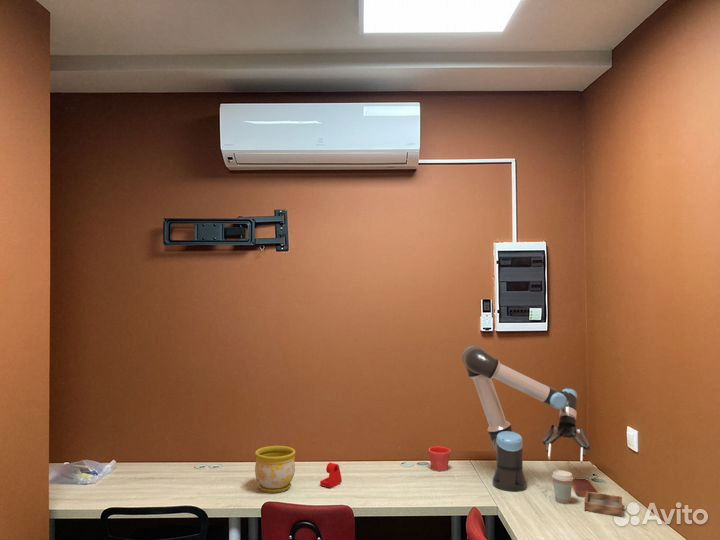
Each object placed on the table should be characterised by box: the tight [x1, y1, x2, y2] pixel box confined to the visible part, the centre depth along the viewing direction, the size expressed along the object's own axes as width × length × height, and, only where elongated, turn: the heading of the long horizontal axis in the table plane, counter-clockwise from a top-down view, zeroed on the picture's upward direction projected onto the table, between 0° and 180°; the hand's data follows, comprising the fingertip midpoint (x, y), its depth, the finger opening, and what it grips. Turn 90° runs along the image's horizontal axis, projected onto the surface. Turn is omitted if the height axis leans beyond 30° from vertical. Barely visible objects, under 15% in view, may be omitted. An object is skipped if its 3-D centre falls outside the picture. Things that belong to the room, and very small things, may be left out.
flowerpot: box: [254, 445, 296, 494], centre depth 248 cm, size 18×18×16 cm
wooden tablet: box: [572, 477, 599, 498], centre depth 253 cm, size 27×10×2 cm, turn 168°
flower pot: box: [428, 446, 451, 472], centre depth 277 cm, size 11×11×10 cm
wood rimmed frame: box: [583, 491, 623, 518], centre depth 229 cm, size 14×14×4 cm
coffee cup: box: [551, 469, 574, 505], centre depth 236 cm, size 9×9×12 cm
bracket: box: [319, 462, 343, 489], centre depth 253 cm, size 9×6×10 cm
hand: (565, 460), depth 246 cm, fingers open, 13 cm apart
